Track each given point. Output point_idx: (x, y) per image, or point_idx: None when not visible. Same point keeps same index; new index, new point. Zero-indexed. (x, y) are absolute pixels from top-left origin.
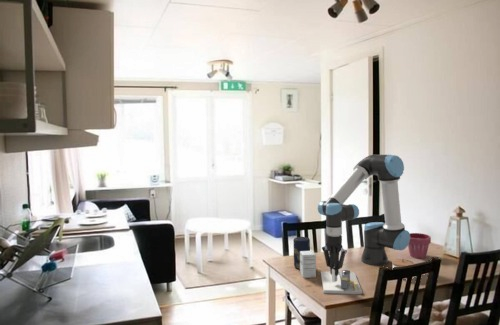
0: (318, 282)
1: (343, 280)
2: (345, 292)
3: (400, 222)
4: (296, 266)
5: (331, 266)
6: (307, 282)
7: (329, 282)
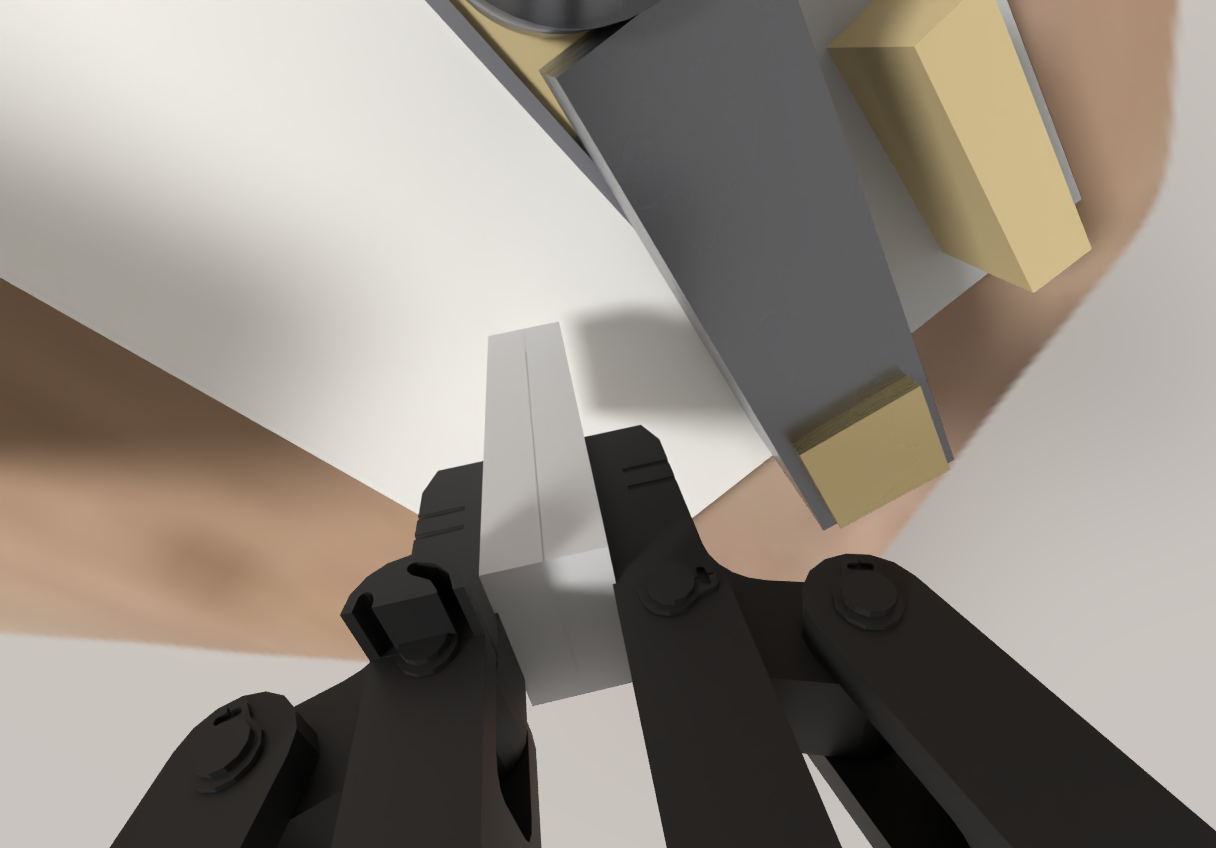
0: (127, 370)
1: (876, 503)
2: None
3: None
4: None
5: (518, 798)
6: (41, 512)
7: (386, 355)
